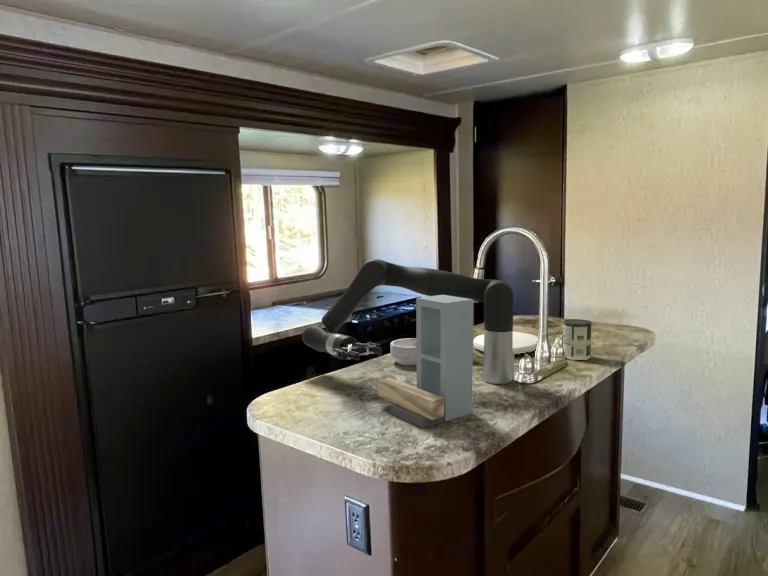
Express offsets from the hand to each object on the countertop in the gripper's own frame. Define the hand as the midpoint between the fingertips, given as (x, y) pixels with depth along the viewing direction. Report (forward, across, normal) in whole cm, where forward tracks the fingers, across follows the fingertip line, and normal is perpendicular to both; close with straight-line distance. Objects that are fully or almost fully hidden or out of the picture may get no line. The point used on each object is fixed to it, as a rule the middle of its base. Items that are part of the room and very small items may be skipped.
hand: (370, 354), depth 171 cm
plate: (-14, +78, +14) cm, 80 cm away
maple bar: (+20, -2, +11) cm, 23 cm away
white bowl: (-23, +34, +13) cm, 43 cm away
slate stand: (+24, +8, +14) cm, 29 cm away
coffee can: (+12, +88, +15) cm, 90 cm away
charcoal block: (+23, -2, +13) cm, 27 cm away
